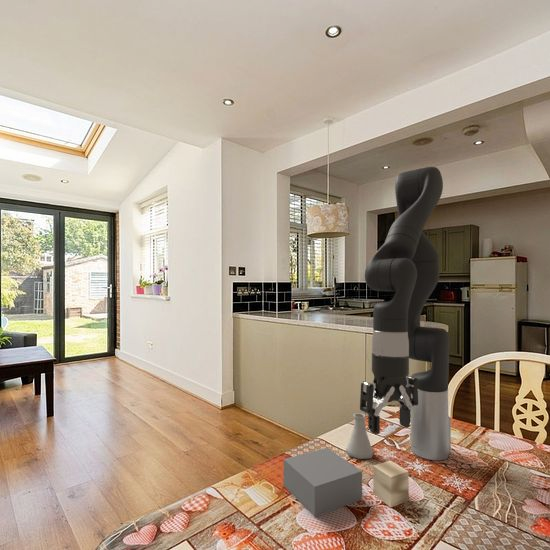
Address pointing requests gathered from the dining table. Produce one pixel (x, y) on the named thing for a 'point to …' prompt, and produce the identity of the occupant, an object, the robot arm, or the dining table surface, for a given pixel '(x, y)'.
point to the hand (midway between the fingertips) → (389, 429)
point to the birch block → (391, 483)
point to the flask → (359, 439)
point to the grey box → (322, 481)
